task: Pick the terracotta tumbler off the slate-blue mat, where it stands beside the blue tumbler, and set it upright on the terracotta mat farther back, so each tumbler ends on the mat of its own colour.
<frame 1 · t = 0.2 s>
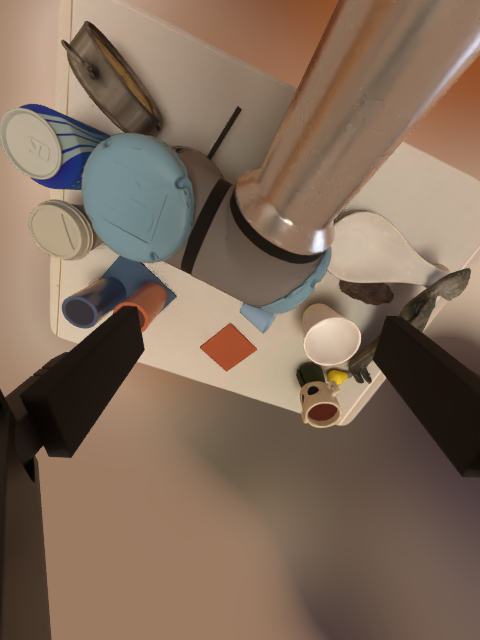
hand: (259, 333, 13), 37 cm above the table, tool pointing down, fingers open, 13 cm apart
statue: (357, 375, 58), point 1 cm above the table, touching spoon rest
cup: (316, 315, 53), on the table
stone: (373, 277, 48), point 1 cm above the table
light bulb: (337, 368, 59), on the table
terracotta tumbler: (153, 295, 52), resting on blue mat
beer can: (105, 163, 42), on the table
spotlight: (257, 300, 52), on the table
alarm clock: (137, 106, 38), on the table
coffee cup: (100, 224, 46), on the table
blue mat: (133, 292, 52), on the table
blue tumbler: (112, 290, 52), resting on blue mat
spoon rest: (378, 254, 47), on the table, touching statue
character mug: (308, 372, 60), on the table
terracotta mat: (228, 347, 57), on the table
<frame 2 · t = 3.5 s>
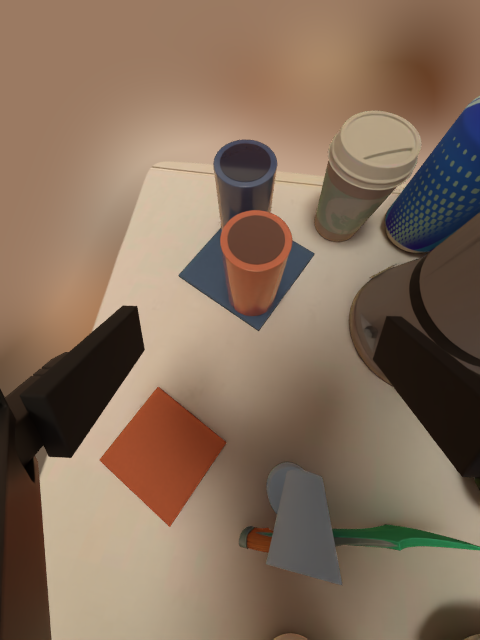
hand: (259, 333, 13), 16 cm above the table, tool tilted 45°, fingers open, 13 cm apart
terracotta tumbler: (251, 293, 31), resting on blue mat
beer can: (410, 232, 34), on the table
spotlight: (287, 491, 25), on the table
coffee cup: (334, 225, 35), on the table
blue mat: (247, 265, 33), on the table
blue tumbler: (244, 236, 34), resting on blue mat
knife: (342, 527, 24), on the table
terracotta mat: (164, 450, 26), on the table
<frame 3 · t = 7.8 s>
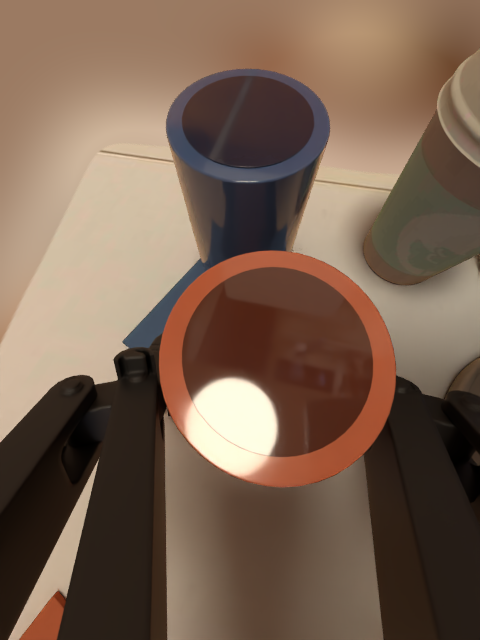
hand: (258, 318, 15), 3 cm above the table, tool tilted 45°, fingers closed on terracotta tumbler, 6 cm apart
terracotta tumbler: (254, 383, 17), resting on blue mat, touching gripper
coffee cup: (397, 255, 21), on the table
blue mat: (247, 325, 18), on the table
blue tumbler: (243, 271, 19), resting on blue mat
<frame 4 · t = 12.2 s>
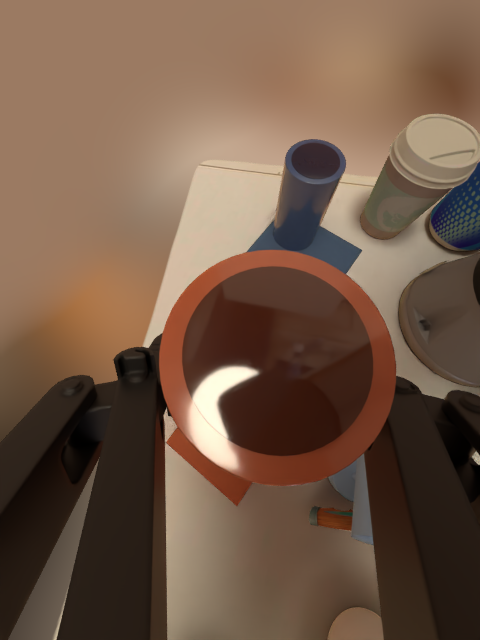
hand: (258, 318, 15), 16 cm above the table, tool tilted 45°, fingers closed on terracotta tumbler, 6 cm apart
terracotta tumbler: (254, 383, 17), point 13 cm above the table, touching gripper
beer can: (452, 231, 36), on the table
spotlight: (347, 475, 26), on the table
coffee cup: (379, 223, 36), on the table
blue mat: (297, 261, 34), on the table
blue tumbler: (293, 232, 35), resting on blue mat
knife: (400, 510, 25), on the table
terracotta mat: (227, 434, 27), on the table
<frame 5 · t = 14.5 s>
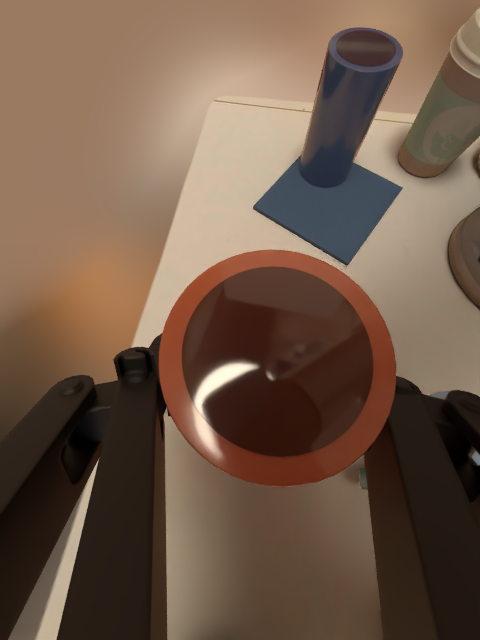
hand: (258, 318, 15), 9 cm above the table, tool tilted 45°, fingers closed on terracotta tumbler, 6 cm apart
terracotta tumbler: (254, 383, 17), point 6 cm above the table, touching gripper
coffee cup: (420, 161, 32), on the table
blue mat: (327, 199, 30), on the table
blue tumbler: (323, 169, 31), resting on blue mat
when the fingers open (3 cm above the table, at t = 16.5 s): terracotta tumbler stays where it is, resting on terracotta mat.
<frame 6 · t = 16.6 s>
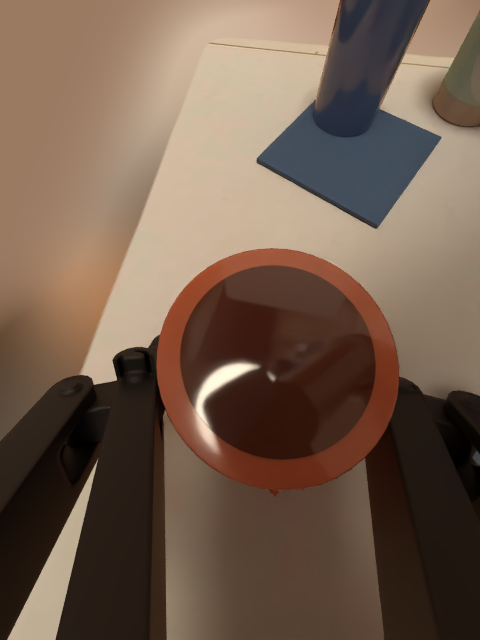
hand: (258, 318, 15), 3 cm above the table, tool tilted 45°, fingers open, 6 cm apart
terracotta tumbler: (254, 383, 17), resting on terracotta mat
coffee cup: (459, 109, 26), on the table
blue mat: (349, 151, 24), on the table
blue tumbler: (342, 116, 25), resting on blue mat
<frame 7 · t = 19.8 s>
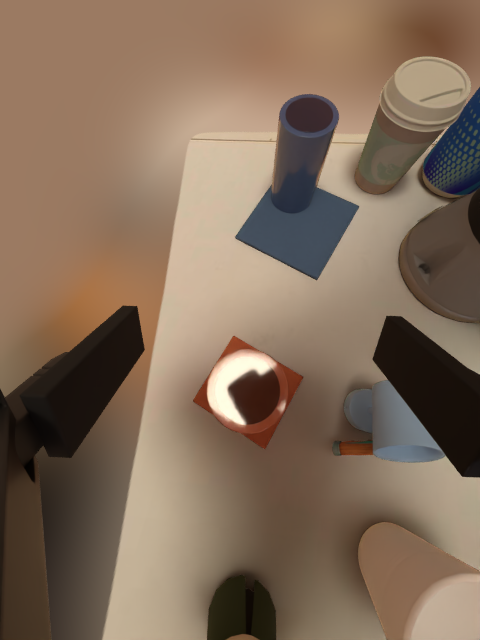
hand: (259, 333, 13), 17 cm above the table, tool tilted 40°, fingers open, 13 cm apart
cup: (387, 555, 25), on the table
terracotta tumbler: (247, 389, 29), resting on terracotta mat
beer can: (445, 179, 36), on the table
spotlight: (363, 413, 28), on the table
coffee cup: (374, 179, 37), on the table
blue mat: (297, 223, 35), on the table
blue tumbler: (291, 196, 36), resting on blue mat
character mug: (242, 610, 24), on the table
knife: (414, 438, 27), on the table
terracotta mat: (248, 389, 29), on the table
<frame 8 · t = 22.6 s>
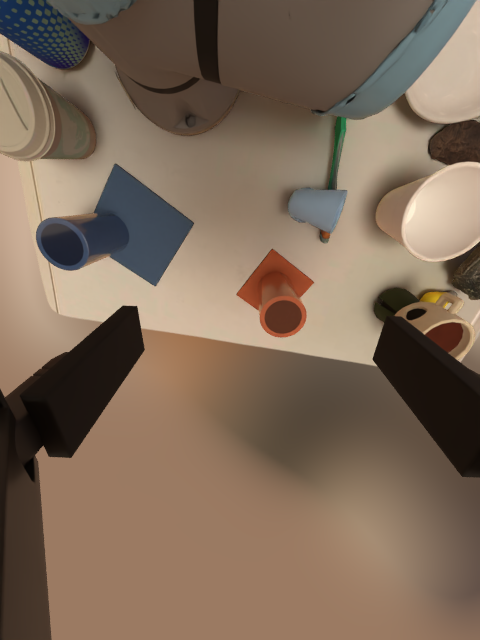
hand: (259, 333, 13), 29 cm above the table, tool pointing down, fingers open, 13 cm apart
statue: (466, 293, 40), point 1 cm above the table, touching spoon rest
cup: (395, 210, 37), on the table
light bulb: (433, 289, 41), on the table
terracotta tumbler: (274, 289, 42), resting on terracotta mat
beer can: (61, 26, 29), on the table
spotlight: (305, 205, 37), on the table
coffee cup: (75, 133, 34), on the table
blue mat: (137, 230, 39), on the table
blue tumbler: (109, 233, 39), resting on blue mat
character mug: (390, 303, 43), on the table
knife: (331, 166, 34), on the table
terracotta mat: (274, 288, 42), on the table
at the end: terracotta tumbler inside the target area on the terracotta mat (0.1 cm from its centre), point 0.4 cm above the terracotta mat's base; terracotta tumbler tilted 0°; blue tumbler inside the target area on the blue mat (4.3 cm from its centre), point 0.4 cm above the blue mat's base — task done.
